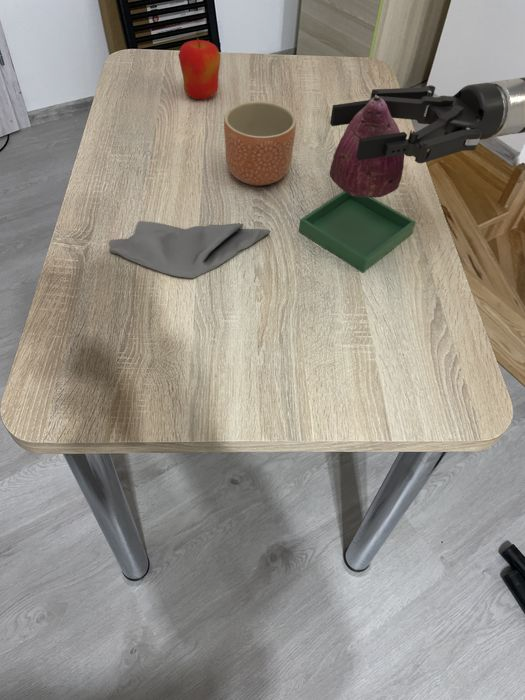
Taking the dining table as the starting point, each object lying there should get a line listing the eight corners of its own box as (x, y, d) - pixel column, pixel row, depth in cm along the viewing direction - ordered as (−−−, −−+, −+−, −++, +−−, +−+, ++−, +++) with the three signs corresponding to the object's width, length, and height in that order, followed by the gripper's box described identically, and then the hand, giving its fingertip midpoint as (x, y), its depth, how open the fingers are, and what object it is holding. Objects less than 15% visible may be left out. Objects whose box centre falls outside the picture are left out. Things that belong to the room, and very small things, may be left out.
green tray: (412, 234, 91) (416, 221, 89) (363, 272, 85) (366, 260, 83) (348, 197, 97) (351, 185, 95) (298, 231, 91) (300, 219, 88)
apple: (197, 109, 114) (194, 50, 105) (173, 93, 118) (168, 35, 108) (228, 97, 118) (228, 39, 108) (204, 82, 121) (202, 25, 112)
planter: (291, 157, 104) (296, 101, 96) (291, 196, 96) (296, 139, 88) (227, 153, 104) (226, 98, 95) (222, 192, 96) (221, 135, 88)
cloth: (100, 277, 82) (97, 266, 80) (115, 219, 90) (113, 208, 89) (271, 281, 83) (271, 271, 81) (269, 224, 91) (270, 213, 90)
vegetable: (373, 222, 79) (396, 148, 65) (315, 187, 81) (325, 108, 67) (411, 176, 82) (441, 96, 68) (355, 144, 84) (372, 60, 70)
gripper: (520, 174, 75) (373, 201, 70) (443, 101, 87) (313, 119, 81) (545, 123, 69) (386, 148, 64) (458, 52, 81) (319, 68, 76)
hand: (345, 132), depth 73 cm, fingers closed on vegetable, 8 cm apart
